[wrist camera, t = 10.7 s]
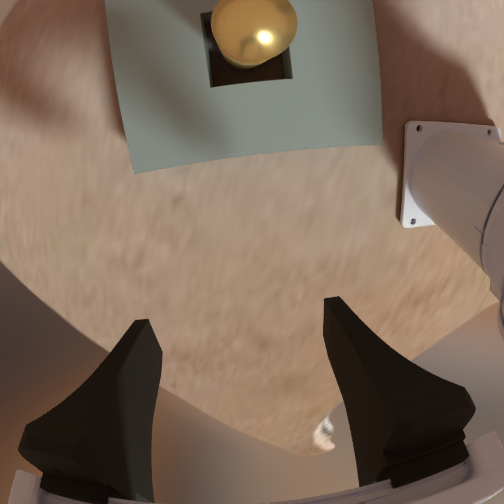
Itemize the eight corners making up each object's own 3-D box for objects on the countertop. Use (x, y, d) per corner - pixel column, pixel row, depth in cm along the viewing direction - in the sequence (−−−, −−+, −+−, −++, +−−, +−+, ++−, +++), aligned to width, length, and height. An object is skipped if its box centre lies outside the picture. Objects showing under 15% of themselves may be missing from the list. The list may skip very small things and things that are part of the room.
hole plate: (346, -36, 13) (363, -50, 10) (363, 134, 19) (382, 144, 17) (119, -12, 13) (102, -23, 11) (147, 160, 19) (134, 174, 17)
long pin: (267, 25, 15) (295, -14, 8) (269, 68, 17) (299, 60, 9) (220, 27, 15) (209, -12, 8) (222, 70, 17) (213, 63, 9)
